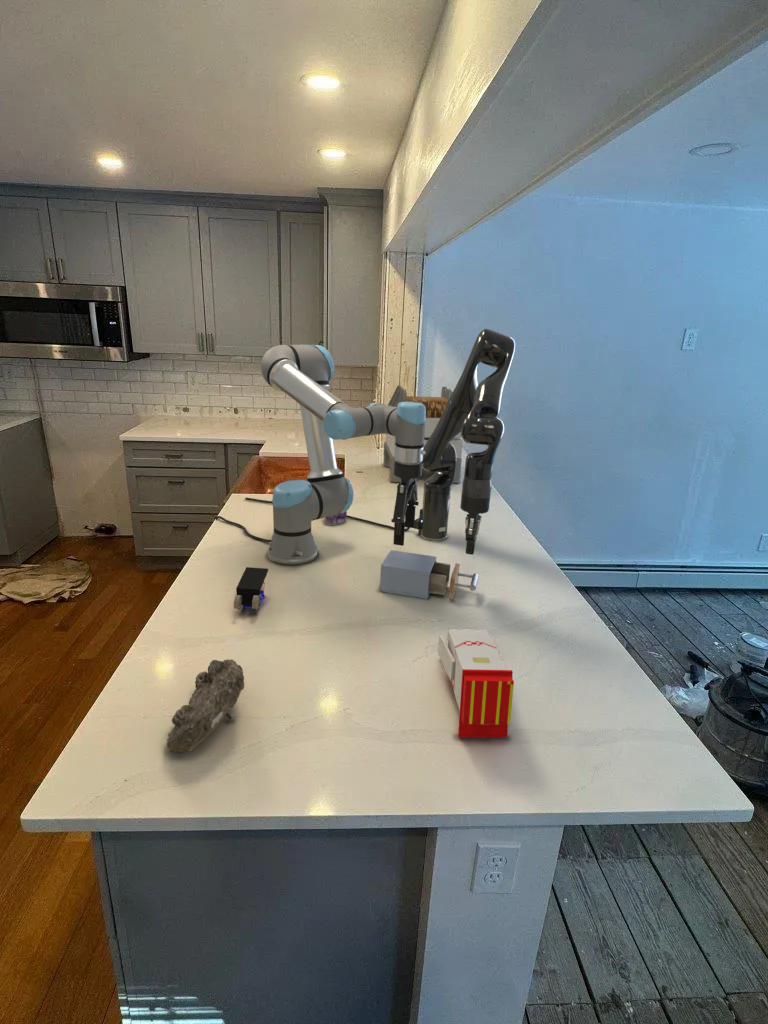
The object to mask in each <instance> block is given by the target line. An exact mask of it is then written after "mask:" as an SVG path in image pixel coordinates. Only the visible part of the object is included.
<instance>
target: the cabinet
mask: <svg viewBox="0 0 768 1024" xmlns="http://www.w3.org/2000/svg"><path fill="white" fill-rule="evenodd" d="M435 562H437V556H435V555H428V554H421V553H415V552H409V551H408V552H407V551H402V550H401V551H400V550H394V549H390V550H389V552H388V554H387V555H386V557H385V558H384V560H383V562H382V563H381V564H380V578H379V580H380V581H379V592H383V593H390V594H396V595H401V596H408V597H414V598H420V599H424V600H425V599H428V598H429V596H430V594H431V593H428V591H429V578H430V572H431V570H432V568H433V566H434V563H435Z"/></svg>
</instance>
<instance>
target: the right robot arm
mask: <svg viewBox="0 0 768 1024" xmlns="http://www.w3.org/2000/svg"><path fill="white" fill-rule="evenodd" d="M515 351H516V342H515V340H514V338H512V337H510V336H509V335H506V334H503V333H500V332H497V331H495V330H493V329H489V328H483V329H482V330H481V331H480V332H479V333H478V335H477V337H476V338H475V341H474V343H473V345H472V348H471V350H470V353H469V355H468V358H467V360H466V362H465V365H464V367H463V370H462V372H461V375H460V377H459V379H458V380H457V383H456V385H455V387H454V388H453V390H452V392H453V393H452V394H451V396H450V399H449V401H448V403H447V405H446V407H445V410H444V412H443V414H442V416H441V418H440V420H439V422H438V424H437V426H436V428H435V430H434V431H433V433H432V435H431V436H430V438H429V439H428V441H427V443H426V444H425V446H424V448H423V451H425V452H426V453H425V454H423V461H422V462H421V463H422V464H423V465H422V470H424V471H426V472H430V473H431V472H432V473H433V474H432V475H431V476H429V477H427V478H426V479H425V480H424V482H423V493H422V496H423V497H422V506H421V508H420V509H419V516H418V518H415V524H414V528H413V529H414V530H417V535H418V536H420V538H421V539H424V540H426V541H432V542H440V541H444V540H446V539H447V538H448V525H449V517H450V516H449V514H450V504H451V494H452V493H451V491H452V486H453V484H454V483H453V481H454V475H455V468H456V450H455V448H454V446H453V445H452V444H450V443H449V442H450V441H451V440H452V439H453V438H454V437H455V436H457V435H458V434H459V433H460V432H461V436H462V438H461V439H462V441H463V442H465V443H466V444H470V445H481V446H487V448H485V449H484V450H481V451H473V452H470V453H468V454H467V455H466V457H465V462H464V463H465V464H464V475H463V479H462V484H461V495H460V504H459V505H460V506H459V508H460V509H461V511H463V512H464V513H465V512H466V516H465V519H464V524H465V530H464V533H465V542H466V545H465V554H466V555H470V556H471V555H472V556H473V555H474V554H475V549H476V541H477V539H478V535H479V531H480V527H481V522H482V517H483V516H482V515H480V514H486V513H488V512H489V511H490V504H491V503H490V502H491V494H492V475H493V467H494V462H495V461H494V460H495V456H496V454H497V451H498V448H499V446H500V444H501V441H502V439H503V436H504V433H505V425H504V422H503V420H501V419H500V418H498V416H499V414H500V409H501V402H502V395H503V391H504V386H505V383H506V380H507V378H508V374H509V372H510V368H511V365H512V361H513V359H514V355H515ZM480 363H481V364H483V365H486V366H488V367H491V368H493V369H496V370H494V371H493V372H492V373H491V374H489V375H488V376H486V377H485V378H484V379H482V380H481V381H480V382H479V384H478V376H477V375H478V374H477V373H478V372H477V370H478V369H477V368H478V367H479V366H478V365H479V364H480ZM245 500H246V501H252V502H253V501H254V502H257V503H258V502H259V503H264V504H265V503H266V504H271V505H273V504H272V500H265V499H259V498H252V497H245ZM346 519H350V520H355V521H359V522H364V523H367V524H370V525H374V526H379V527H382V528H387V529H390V530H393V531H394V526H392V525H389V524H383V523H379V522H375V521H372V520H368V519H365V518H361V517H360V518H359V517H357V516H351V515H348V514H347V515H346ZM410 529H411V528H408V527H405V532H407V531H409V530H410Z"/></svg>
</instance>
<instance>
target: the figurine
mask: <svg viewBox="0 0 768 1024" xmlns="http://www.w3.org/2000/svg"><path fill="white" fill-rule="evenodd" d="M347 513H348V510H347V511H346V512H344V513H341V514H339V515H336V516H329V517H325V518H323V520H324V524H325V525H328V526H335V525H336V526H337V525H341V524H343V523H345V522H346V521H347V518H346V515H348V514H347Z"/></svg>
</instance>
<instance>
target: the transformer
mask: <svg viewBox="0 0 768 1024" xmlns="http://www.w3.org/2000/svg"><path fill="white" fill-rule="evenodd" d="M440 393H441V394H440V396H415V395H414V396H413V395H412V396H411V395H407V394H408V393H407V390H406V389H404V388H403V387H402V385H399V384H398V385H397V386H396V388H395V390H394V392H393V394H392V395H391V398H390V400H389V402H388V404H387V405H388V406H393V407H397V406H398V404H399V403H401V402H418V403H422V404H423V405H425V407H426V424H425V434H424V446H425V444H426V443H427V441H428V439H429V438H430V436H431V435H432V433H433V431H434V430H435V428H436V426H437V424H438V422H439V420H440V418H441V416H442V414H443V412H444V410H445V407H446V405H447V403H448V401H449V399H450V396H451V394H452V393H453V390H452V389H451V388H447V386H442V387H441V392H440ZM395 442H396V436H392V435H389V434H385V438H384V442H383V466H384V467H388V468H389V475H388V476H389V477H388V478H389V480H390V482H391V483H401V478H399V477H396V476H395V475H394V463H395V462H396V460H395V459H394V458H395ZM463 442H464V440H463V438H462V436H461V432H460V433H459V434H458V435H457V436H455V437H454V438H453V439H452V440H451V441H450V442H449V443H450V444H452V445H453V446H454V448H455V450H456V468H455V475H454V481H453V484H455V483H456V484H459V483H461V472H462V461H463V460H462V453H463ZM423 448H424V447H423Z"/></svg>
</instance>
